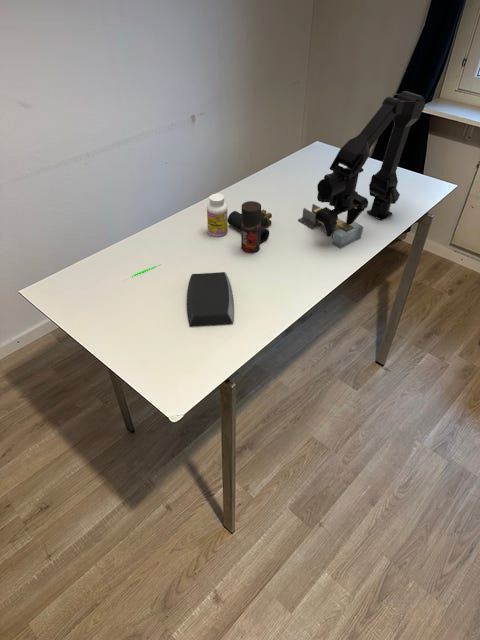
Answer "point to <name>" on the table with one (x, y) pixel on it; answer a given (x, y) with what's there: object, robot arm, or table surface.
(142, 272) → the pen
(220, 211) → the supplement bottle
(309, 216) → the grey sleeve
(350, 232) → the slate-blue socket
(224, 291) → the external hard drive
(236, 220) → the pipe connector
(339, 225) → the tan square rod
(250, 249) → the deodorant
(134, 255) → the table surface
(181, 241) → the table surface
